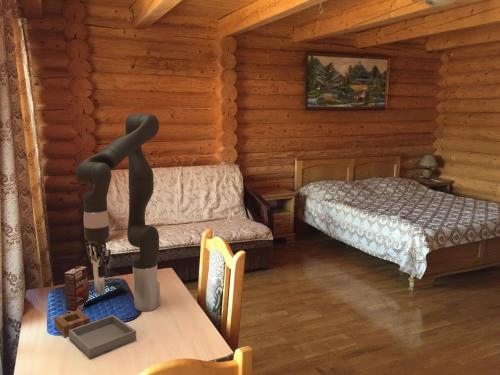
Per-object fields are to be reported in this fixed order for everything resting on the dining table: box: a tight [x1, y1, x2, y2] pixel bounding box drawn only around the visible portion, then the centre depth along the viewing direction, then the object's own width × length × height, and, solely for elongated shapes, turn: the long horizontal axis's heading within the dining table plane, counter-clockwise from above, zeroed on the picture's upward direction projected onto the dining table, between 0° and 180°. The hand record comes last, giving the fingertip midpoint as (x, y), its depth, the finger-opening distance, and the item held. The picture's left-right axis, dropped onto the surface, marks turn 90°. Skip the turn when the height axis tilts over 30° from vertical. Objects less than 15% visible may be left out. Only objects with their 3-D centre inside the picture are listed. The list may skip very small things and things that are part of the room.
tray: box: [68, 314, 137, 360], centre depth 142 cm, size 16×16×4 cm
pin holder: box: [53, 310, 91, 338], centre depth 150 cm, size 9×9×4 cm
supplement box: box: [63, 265, 90, 313], centre depth 164 cm, size 9×5×16 cm, turn 168°
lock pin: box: [91, 254, 106, 296], centre depth 138 cm, size 4×4×13 cm
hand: (99, 274), depth 138 cm, fingers closed on lock pin, 3 cm apart
